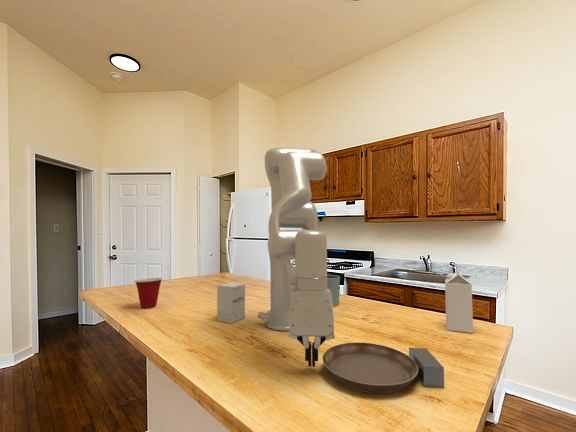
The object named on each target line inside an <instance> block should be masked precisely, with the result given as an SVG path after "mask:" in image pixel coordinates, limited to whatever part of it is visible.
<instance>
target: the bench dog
mask: <svg viewBox="0 0 576 432" xmlns="http://www.w3.org/2000/svg"><path fill="white" fill-rule="evenodd" d="M408 356H409V357H411V358H412V359H413V360H414V361H415V362H416V364H417V366H418V374H417V375H416V377H417V379H418V380H419V381H420V383H421V384H422V386H423V387H424V386H425V387H426V388H429V387H430V388H445V370H444V369H445V367H444V366H443V365H442V364H441V362H439V361H438V359H436V357H435V356H434V355H433V354H432V353H431V352H430V351H429V350H428V349H427V347H426V348H425V347H408ZM431 386H432V387H431Z"/></svg>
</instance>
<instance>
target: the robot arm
mask: <svg viewBox="0 0 576 432" xmlns="http://www.w3.org/2000/svg"><path fill="white" fill-rule="evenodd" d="M264 170H265V174H266V177H267V179H268V182H269V185H270V191H271V192H270V197H271V207H270V208H271V212H270V215H269V218H268V224H267V225H268V227H267V228H268V230H267V231H268V239H267V250H268V257H269V268H270V269H269V270H270V272H269V273H270V277H269V278H270V280H269V281H270V294H269V295H270V297H269V298H270V300H269V301H270V310H267V311H266V312H265V311H258V313H257V318H259V319H260V320H266V321H265V325H266V328H268V329H270V330H274V331H284V332H286V331H288V334H287V337H288V338H289V339H293V340H297V341H298V342H299V343H300V344H301V345H302V346H303V348H304V361H305V362H307V366H308V367H316V362H319V348H320V347H321V345H322V344H323V343H325V342H326V341H330V340H335V338H336V336H335V335H336V334H335V332H334V331H335V320H334V319H335V318H334V317H335V316H334V306H333V301H332V295H331V291H330V290H329V289H327V275H328V245H327V244H328V243H327V242H328V240H327V234H326V233H325V232H324V231H321V230H319V222H318V221H319V219H318V217H319V216H318V210H317V207H316V205H315V204H314V203H313V202H311V200H312V189H311V183H310V181H321V180H323V179H324V178H325V176H326V175H327V170H328V169H327V161H326V158H325V156H324V155H323V154H322V153H321V152H320V151H317V150H315V149H310V148H294V147H274V148H269V149H268V150H266V153H265V154H264ZM281 228H283V229H281ZM291 261H294V264H293V263H292V262H291ZM309 337H313V338H314V340H313V342H312V344H311V342H310V339H309Z"/></svg>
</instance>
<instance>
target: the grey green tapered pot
mask: <svg viewBox="0 0 576 432" xmlns="http://www.w3.org/2000/svg"><path fill="white" fill-rule="evenodd" d="M340 283H341V276H340V275H338V274H337V275H336V274H335V275H334V274H327V289H329V290H330V291H331V295H332V301H333V307H337V306H339V305H340V287H341V286H340Z"/></svg>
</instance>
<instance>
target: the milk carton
mask: <svg viewBox="0 0 576 432" xmlns="http://www.w3.org/2000/svg"><path fill="white" fill-rule="evenodd" d="M445 277H446V279H445V280H444V289H445V292H444V293H445V294H444V295H445V297H444V298H445V324H446V329H447V331H452V332H460V333H468V334H474V320H473V318H474V315H473V288H472V287H473V286H472V285H473V284H471V283H472V282H470V281H469V280H468V279H466V278H465V277H464V276H463V275H461V274H460V270H458V268H455V272H454V273H452V272H449V273H448V274H447V275H446V276H445Z"/></svg>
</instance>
